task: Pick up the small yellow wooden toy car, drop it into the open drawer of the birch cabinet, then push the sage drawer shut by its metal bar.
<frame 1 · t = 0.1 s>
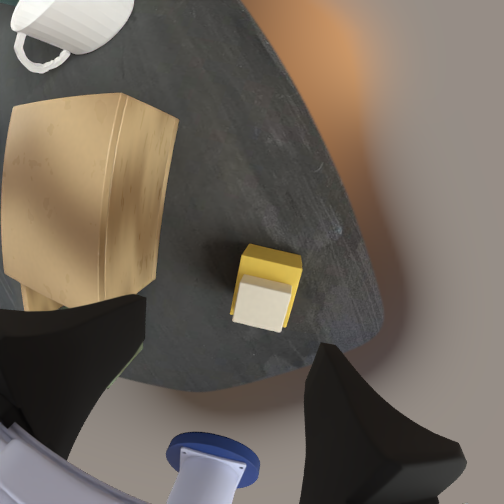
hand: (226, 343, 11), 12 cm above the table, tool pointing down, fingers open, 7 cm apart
mug: (91, 30, 18), on the table
cabinet: (109, 191, 22), on the table
drawer: (78, 308, 21), point 4 cm above the table, slide at 6.0 cm
toy: (268, 276, 22), on the table
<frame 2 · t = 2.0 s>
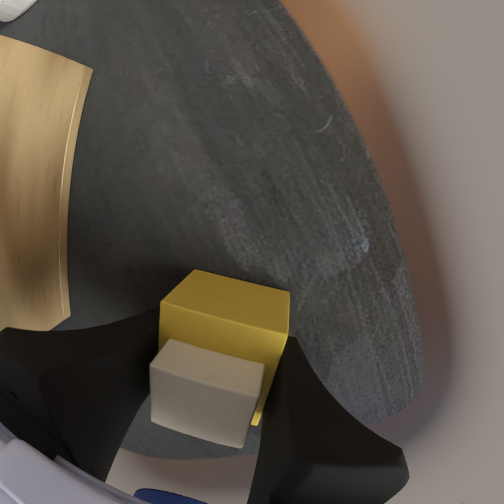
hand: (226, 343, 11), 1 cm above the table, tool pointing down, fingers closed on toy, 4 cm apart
cabinet: (14, 187, 12), on the table
toy: (232, 326, 12), on the table, touching gripper
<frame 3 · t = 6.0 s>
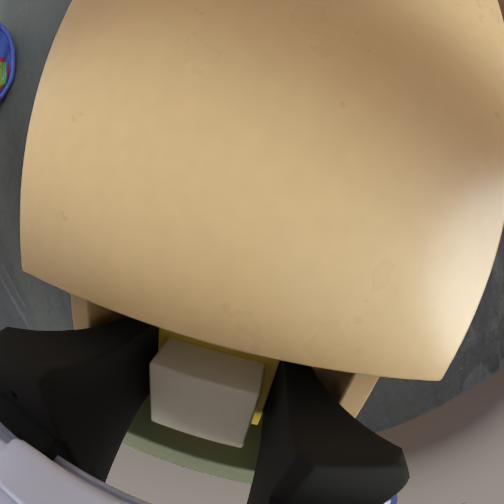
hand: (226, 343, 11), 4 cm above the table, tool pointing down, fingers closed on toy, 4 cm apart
cabinet: (283, 109, 12), on the table
drawer: (224, 346, 10), point 4 cm above the table, slide at 6.0 cm, touching gripper
toy: (232, 325, 12), point 2 cm above the table, touching gripper
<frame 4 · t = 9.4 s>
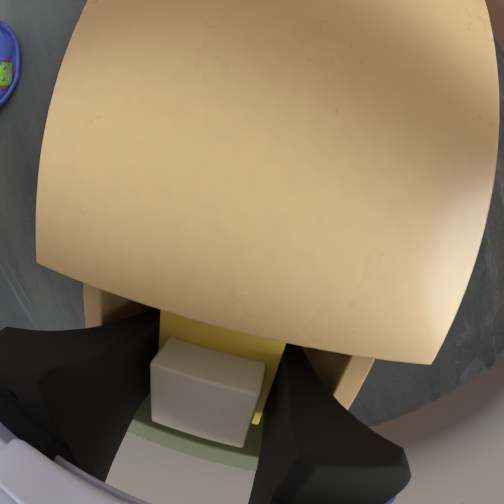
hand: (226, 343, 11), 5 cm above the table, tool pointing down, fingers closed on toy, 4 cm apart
cabinet: (283, 112, 12), on the table
drawer: (227, 337, 11), point 4 cm above the table, slide at 6.0 cm
toy: (232, 324, 12), point 3 cm above the table, touching gripper
when the fingers open (6 cm above the table, at t = 12.0 s): toy stays where it is, resting on drawer.
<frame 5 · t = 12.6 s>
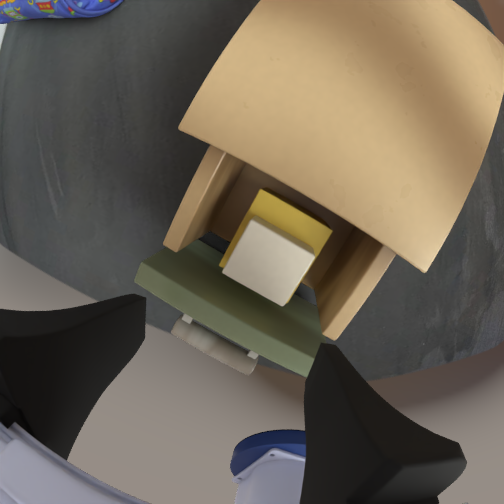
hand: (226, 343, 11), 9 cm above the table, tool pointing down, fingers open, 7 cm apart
cabinet: (349, 107, 16), on the table
drawer: (275, 243, 15), point 4 cm above the table, slide at 6.0 cm, touching toy
toy: (277, 235, 17), point 2 cm above the table, touching drawer
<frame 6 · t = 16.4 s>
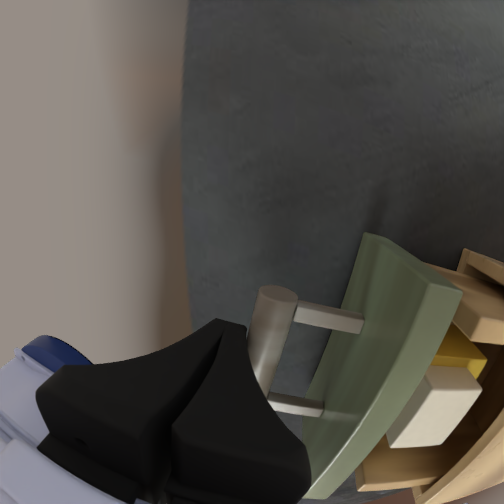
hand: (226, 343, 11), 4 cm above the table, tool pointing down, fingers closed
cabinet: (493, 347, 13), on the table
drawer: (424, 380, 10), point 4 cm above the table, slide at 5.2 cm, touching gripper, toy
toy: (409, 353, 12), point 2 cm above the table, touching drawer
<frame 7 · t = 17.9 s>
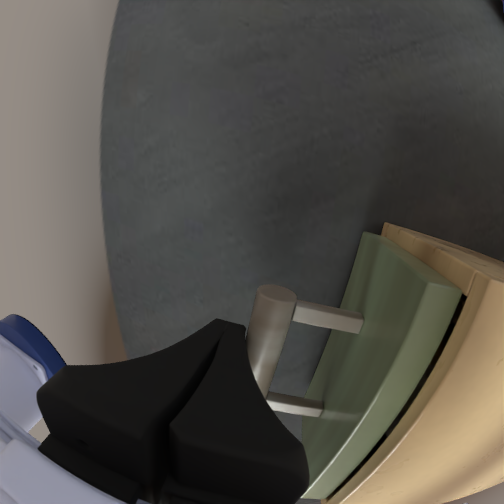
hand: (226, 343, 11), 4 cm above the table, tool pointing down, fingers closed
cabinet: (445, 341, 13), on the table
drawer: (424, 380, 10), point 4 cm above the table, slide at 0.0 cm, touching cabinet, gripper, toy
toy: (409, 353, 12), point 2 cm above the table, touching drawer
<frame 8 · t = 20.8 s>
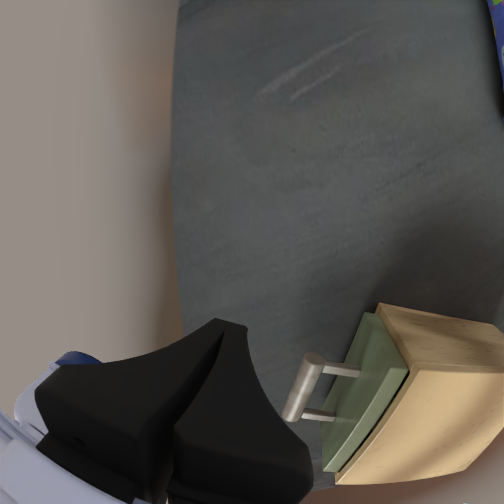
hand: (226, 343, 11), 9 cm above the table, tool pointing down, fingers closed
cabinet: (418, 371, 20), on the table
drawer: (397, 400, 16), point 4 cm above the table, slide at 0.0 cm, touching toy
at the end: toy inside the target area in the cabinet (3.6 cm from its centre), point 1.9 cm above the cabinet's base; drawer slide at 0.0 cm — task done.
